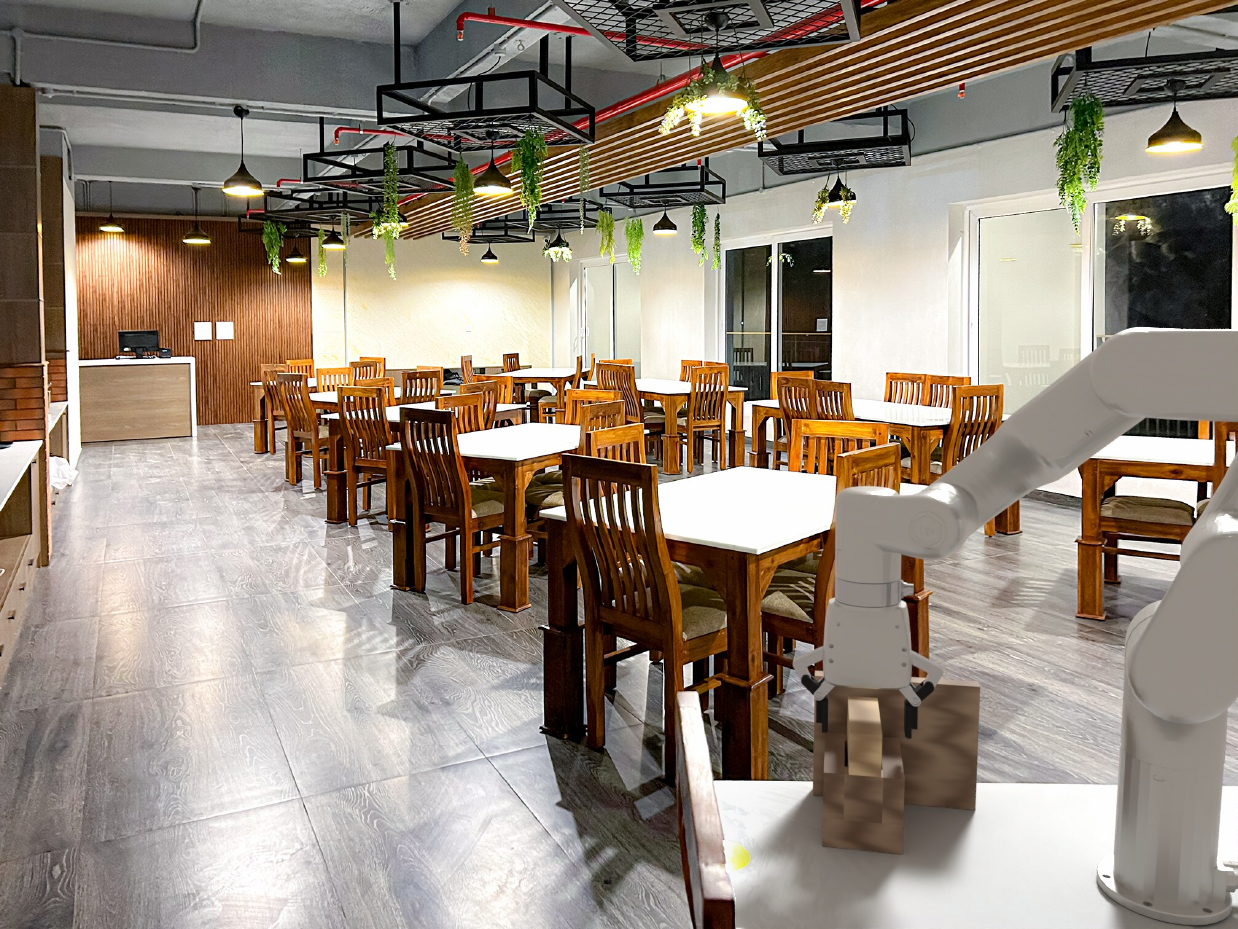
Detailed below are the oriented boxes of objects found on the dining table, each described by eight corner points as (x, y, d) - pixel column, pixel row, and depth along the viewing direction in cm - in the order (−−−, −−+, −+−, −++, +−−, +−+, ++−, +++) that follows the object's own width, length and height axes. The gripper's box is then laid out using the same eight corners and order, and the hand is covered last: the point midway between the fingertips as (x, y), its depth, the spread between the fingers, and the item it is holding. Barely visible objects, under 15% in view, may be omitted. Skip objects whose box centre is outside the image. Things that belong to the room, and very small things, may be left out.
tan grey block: (875, 774, 124) (877, 698, 123) (880, 819, 112) (882, 735, 111) (846, 771, 125) (847, 696, 123) (847, 816, 113) (849, 733, 112)
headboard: (973, 803, 125) (978, 681, 123) (990, 863, 110) (996, 727, 108) (813, 788, 129) (815, 670, 127) (809, 844, 115) (811, 713, 113)
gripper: (941, 587, 117) (938, 724, 119) (794, 581, 121) (794, 715, 123) (947, 603, 110) (944, 749, 112) (791, 597, 114) (791, 738, 116)
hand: (865, 731), depth 117 cm, fingers open, 9 cm apart
